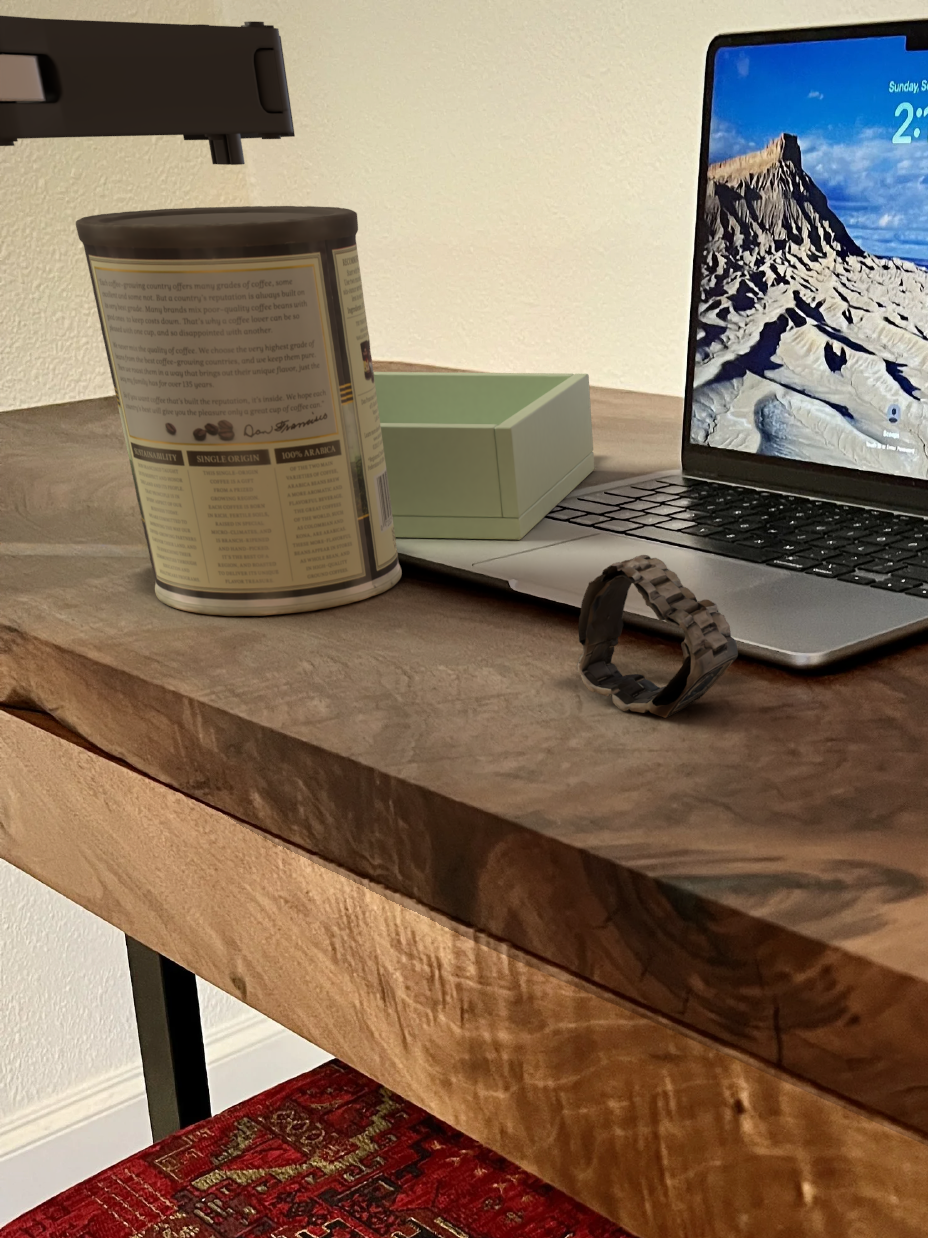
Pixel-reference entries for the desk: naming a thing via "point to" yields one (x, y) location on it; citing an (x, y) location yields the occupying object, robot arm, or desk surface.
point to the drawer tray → (481, 449)
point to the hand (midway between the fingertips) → (70, 90)
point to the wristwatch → (671, 602)
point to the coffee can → (247, 404)
